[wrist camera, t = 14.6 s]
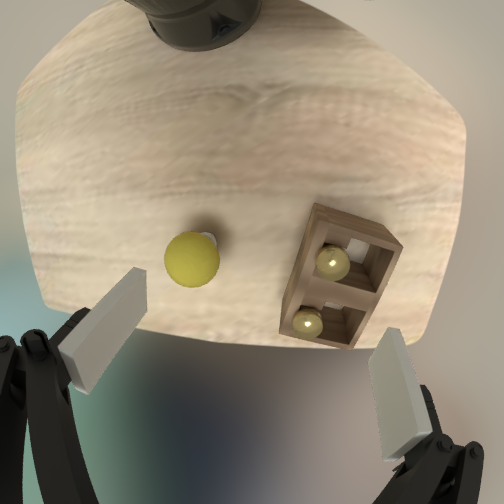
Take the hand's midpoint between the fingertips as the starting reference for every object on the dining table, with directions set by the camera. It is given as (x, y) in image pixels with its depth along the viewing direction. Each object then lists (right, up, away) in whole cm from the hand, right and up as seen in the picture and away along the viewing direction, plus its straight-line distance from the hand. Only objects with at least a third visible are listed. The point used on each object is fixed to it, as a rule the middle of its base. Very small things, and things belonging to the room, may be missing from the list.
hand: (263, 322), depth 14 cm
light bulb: (-7, +5, +26) cm, 27 cm away
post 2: (+9, +6, +22) cm, 25 cm away
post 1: (+7, -1, +26) cm, 27 cm away
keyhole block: (+10, +2, +24) cm, 26 cm away
